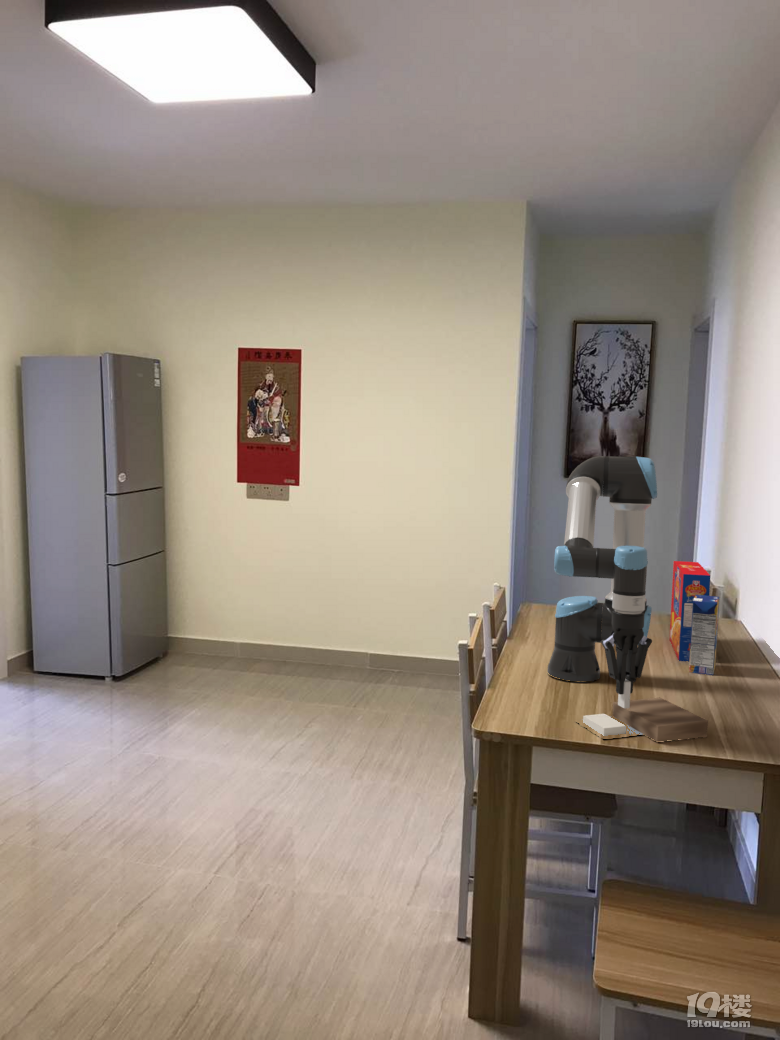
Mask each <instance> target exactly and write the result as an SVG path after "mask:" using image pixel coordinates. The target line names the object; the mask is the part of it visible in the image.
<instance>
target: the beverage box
mask: <svg viewBox="0 0 780 1040" xmlns="http://www.w3.org/2000/svg"><path fill="white" fill-rule="evenodd" d="M719 608H720V596H715V595H709V596H705V595H695V598H694V600H693V609H692V627H691V644H690V662H688V664H689V666H688V673H691V674H700V675H705V674H706V676H714V673H715V669H716V661H717V658H716V657H717V646H718V645H717V643H718V642H717V641H718V627H719V612H720V611H719V610H720V609H719Z"/></svg>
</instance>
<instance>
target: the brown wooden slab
mask: <svg viewBox="0 0 780 1040" xmlns="http://www.w3.org/2000/svg"><path fill="white" fill-rule="evenodd" d="M612 716H614V717H615V718H617V719H619V720H620V721H622V722H624V723H625V724H627V725H628V726H630V727H632V728H634V729H635V730H637V731H639V732H641V733H642V734H644V735H646V736H648V737H650V738H652V739H654V740H655V741H667V740H678V739H687V740H689V739H688V738H695V739H699V738H698V737H703V738H707V737H708V725H709V720H708V719H706V718H703V717H701V716H700V715H697V714H695V713H693V712H690V711H689V710H687V709H684V708H683V707H681V706H680V705H679V706H678V705H677V704H675V703H672V702H670V701H668V700H666V699H665V698H662V697H660V696H659V697H650V698H649V697H648V698H641V699H630V708H622V707H621V706H619V705H618V701H613V702H612Z"/></svg>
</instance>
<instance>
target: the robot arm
mask: <svg viewBox="0 0 780 1040" xmlns="http://www.w3.org/2000/svg"><path fill="white" fill-rule="evenodd" d="M655 467H656V466H655V462H654V460H653V459H652V458H650V457H643V456H642V457H641V456H611V455H610V456H609V455H607V456H605V455H598V456H593V457H590V458H588V459H586V460H584V461H583V462H581V463H580V464H578V465H577V466H576V467H575V468H574V469H573V470H572V472H571V473H570V475H569V477H568V479H567V481H566V486H565V494H566V496H567V498H568V500H567V501H568V502H567V514H566V522H565V531H564V532H565V533H564V542H563V545H559V546H556V548H555V549H554V559H553V560H554V561H553V563H554V564H553V565H554V566H553V570H554V573H555V574H556V575H558V576H565V577H566V576H567V577H569V578H570V577H574V578H595V579H596V578H598V579H610V580H611V581H610V592H609V593H607V594H606V595H605V597H604V602H598V598H597V597H596V596H591V595H590V596H589V595H575V596H568V597H564V598H562V599H560V600H558V602H557V603H556V608H555V614H554V617H555V627H554V628H555V631H554V649H553V651H552V654H551V657H550V659H549V662H548V665H547V672H548V673H549V674H550V675H552V676H554V677H557V678H560V679H564V680H570V681H592V682H595V681H594V680H596V681H598V680H600V678H601V669H600V668H601V667H600V664H599V662H598V658H597V654H596V643H598V644H600V643H601V645H602V647H603V649H604V652H605V658H606V659H605V660H606V663H607V664H606V665H607V670H608V675H609V678H612V679H613V680H615V681H616V684H615V685H616V686H615V691H616V693H617V694H618V695H617V702H618V705H619V706H621V707H622V708H630V700H631V694H633V691H634V683H635V682H637V680H638V679H640V678H642V674H643V670H644V665H645V662H646V658H647V654H648V651H649V648H650V646H651V644H652V642H653V640H652V638H649V637H648V634H649V629H650V626H651V617H652V606H650V605H648V604H647V601H648V600H647V598H646V588H647V587H646V586H647V575H648V574H647V573H648V572H647V571H648V564H649V562H648V550H647V548H646V547H645V528H646V512H647V509H648V508H650V507H651V506H652V499H653V500H655V499H657V498H658V486H657V485H658V484H657V483H658V482H657V474H656V468H655ZM600 497H603V498H604V497H607V498H609V500H608V501H609V502H608V503H609V505H610V506H611V507H612V508H613V511H614V512H613V514H614V515H613V533H612V548H605V547H594V545H595V525H596V511H597V500H598V499H599V498H600ZM614 647H615V648H614ZM548 673H547V674H548ZM637 678H638V679H637ZM597 679H598V680H597Z"/></svg>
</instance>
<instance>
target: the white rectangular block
mask: <svg viewBox="0 0 780 1040" xmlns="http://www.w3.org/2000/svg"><path fill="white" fill-rule="evenodd" d="M611 717H612V716H609V715H607V714H605V713H598V714H587V715H586V714H585V715H582V720H583V723H585V724H586V725H588V726H589V727H591V728H592V729H594V730H595V731H597V732H598V733H600V734H602V735H603V736H608V735H618V734H619V735H620V734H626V726H625V725H624V724H622V723H620V722H618V721H617V720H615V719H613V718H611Z"/></svg>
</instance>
